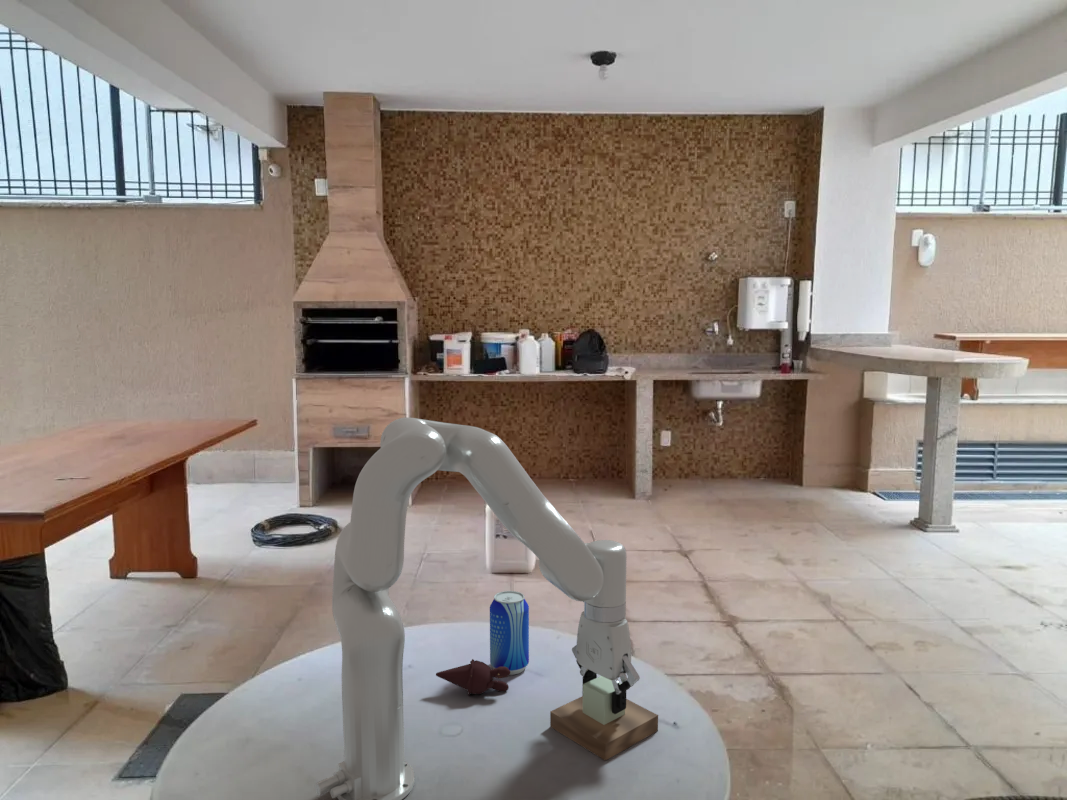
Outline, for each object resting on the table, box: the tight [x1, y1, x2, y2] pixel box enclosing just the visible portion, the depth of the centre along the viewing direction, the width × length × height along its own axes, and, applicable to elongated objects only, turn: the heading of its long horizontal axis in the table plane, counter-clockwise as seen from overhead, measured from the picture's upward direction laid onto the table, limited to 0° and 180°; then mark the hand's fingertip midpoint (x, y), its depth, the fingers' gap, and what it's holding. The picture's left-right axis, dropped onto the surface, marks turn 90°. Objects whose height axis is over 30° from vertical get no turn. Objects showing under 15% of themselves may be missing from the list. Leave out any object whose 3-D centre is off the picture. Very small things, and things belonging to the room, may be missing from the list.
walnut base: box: [549, 695, 659, 762], centre depth 135 cm, size 14×14×3 cm
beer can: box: [489, 590, 530, 676], centre depth 158 cm, size 8×8×16 cm
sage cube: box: [582, 675, 625, 725], centre depth 135 cm, size 6×6×6 cm
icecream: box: [435, 658, 511, 697], centre depth 148 cm, size 7×7×15 cm
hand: (604, 702), depth 135 cm, fingers open, 6 cm apart
